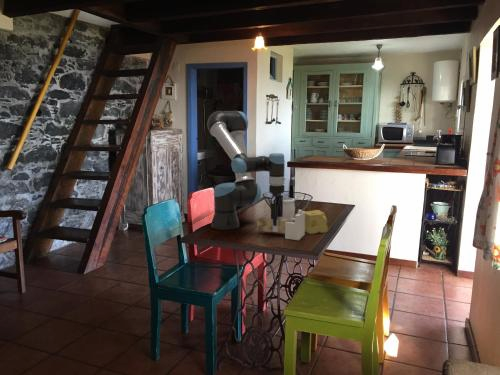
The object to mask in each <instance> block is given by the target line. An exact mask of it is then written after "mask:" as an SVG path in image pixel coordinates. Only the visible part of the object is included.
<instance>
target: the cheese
mask: <svg viewBox="0 0 500 375" xmlns="http://www.w3.org/2000/svg"><path fill="white" fill-rule="evenodd" d="M305 233H307V234H310V235H314V234H318V233H321V234H322V233H328V218H327V217H326V215H325V213H324V212H323V211H322V210H320V209H313V210H310V211H309V210H307V211H305Z"/></svg>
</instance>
